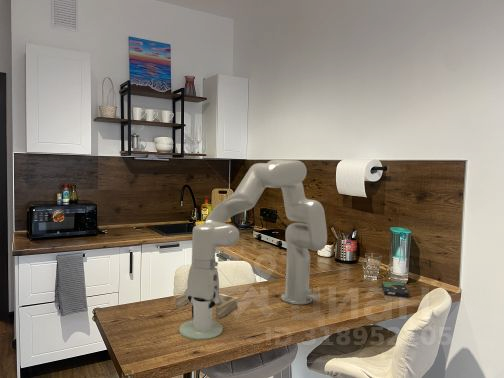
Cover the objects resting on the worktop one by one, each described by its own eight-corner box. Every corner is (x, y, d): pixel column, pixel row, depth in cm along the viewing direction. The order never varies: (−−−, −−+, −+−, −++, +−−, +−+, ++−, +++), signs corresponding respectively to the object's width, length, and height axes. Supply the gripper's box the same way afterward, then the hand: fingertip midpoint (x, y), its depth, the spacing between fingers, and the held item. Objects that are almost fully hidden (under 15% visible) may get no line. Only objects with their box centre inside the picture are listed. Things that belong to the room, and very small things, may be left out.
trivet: (230, 327, 135) (230, 325, 134) (206, 343, 122) (206, 341, 122) (196, 318, 141) (196, 316, 141) (170, 332, 129) (170, 330, 129)
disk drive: (409, 299, 173) (404, 288, 187) (409, 293, 173) (404, 282, 187) (384, 296, 175) (381, 286, 189) (384, 290, 175) (381, 280, 189)
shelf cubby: (237, 307, 153) (238, 297, 153) (218, 319, 142) (219, 308, 141) (196, 298, 162) (196, 288, 162) (175, 307, 151) (175, 297, 150)
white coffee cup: (207, 333, 127) (208, 303, 127) (188, 330, 129) (189, 300, 129) (216, 326, 134) (217, 296, 133) (197, 322, 136) (198, 293, 135)
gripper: (231, 264, 130) (229, 320, 131) (189, 257, 137) (188, 309, 139) (218, 270, 123) (216, 328, 124) (175, 261, 131) (174, 316, 132)
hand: (201, 317), depth 131 cm, fingers open, 4 cm apart
